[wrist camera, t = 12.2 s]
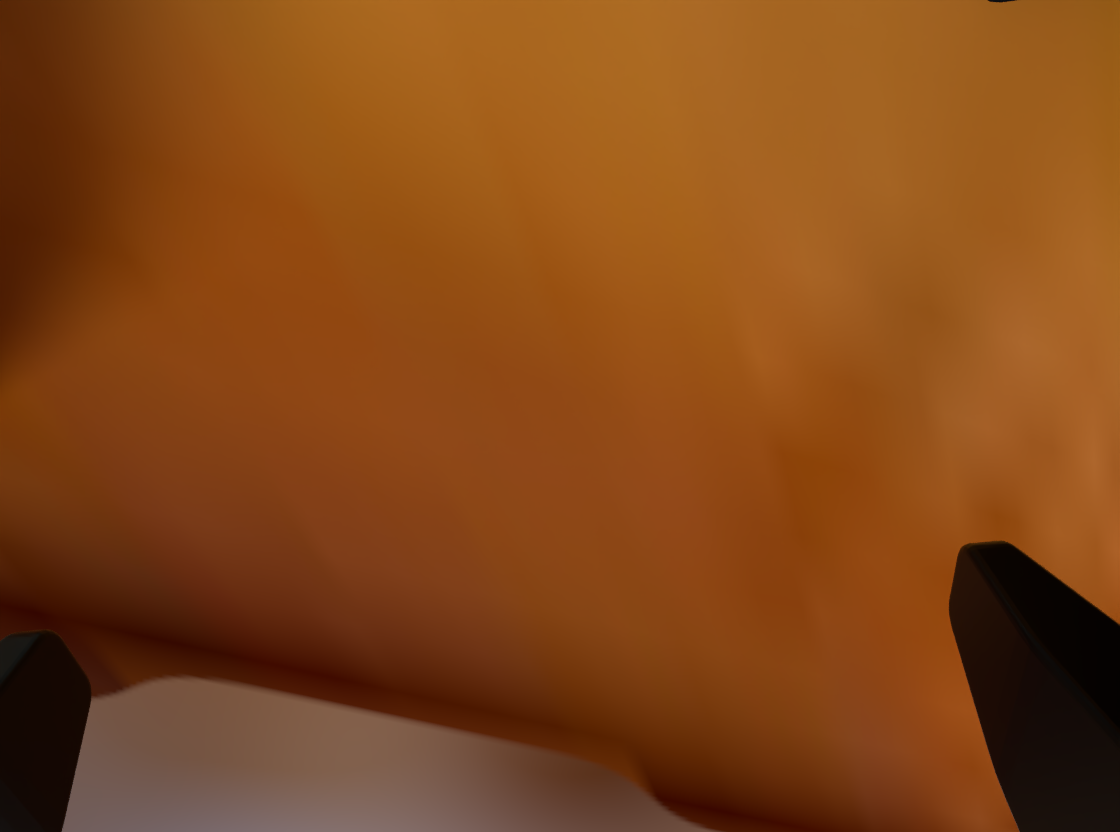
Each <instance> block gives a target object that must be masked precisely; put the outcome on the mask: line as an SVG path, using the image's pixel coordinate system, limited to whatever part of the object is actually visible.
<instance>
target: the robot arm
mask: <svg viewBox="0 0 1120 832" xmlns="http://www.w3.org/2000/svg"><path fill="white" fill-rule="evenodd" d="M988 1H990V2H1007V1H1015V0H988ZM949 615H950V621H951V626H952V629H953V633H954V636H955V640H956V643H957V646H958V650H959V653H960V656H961V660H962V663H963V667H964V670H965V673H966V677H967V680H968V683H969V687H970V690H971V694H972V697H973V700H974V704H975V707H976V710H977V714H978V717H979V721H980V724H981V727H982V731H983V734H984V737H985V741H986V744H987V748H988V751H989V754H990V757H991V760H992V763H993V766H994V769H995V773H996V775H997V778H998V780H999V783H1000V785H1001V788H1002V790H1003V793H1004V796H1005V798H1006V800H1007V803H1008V805H1009V807H1010V810H1011V812H1012V814H1013V817H1014V819H1015V822H1016V824H1017V826H1018V829H1019V831H1020V832H1120V624H1118V623H1117V622H1116V621H1114V620H1113V619H1112V618H1110V617H1109V616H1108V615H1106V614H1105V613H1104V612H1102V611H1101V610H1100V609H1098V608H1097V607H1096V606H1094V605H1093V604H1092V603H1090V602H1089V601H1088V600H1086V599H1085V598H1084V597H1082V596H1081V595H1080V594H1078V593H1077V592H1076V591H1074V590H1073V589H1072V588H1070V587H1069V586H1068V585H1066V584H1065V583H1064V582H1062V581H1061V580H1060V579H1058V578H1057V577H1056V576H1054V575H1053V574H1052V573H1050V572H1049V571H1048V570H1046V569H1045V568H1044V567H1042V566H1041V565H1040V564H1038V563H1037V562H1036V561H1034V560H1033V559H1032V558H1030V557H1029V556H1028V555H1026V554H1025V553H1024V552H1022V551H1021V550H1020V549H1018V548H1017V547H1016V546H1014V545H1012V544H1010V543H1008V542H1005V541H991V542H980V543H969V544H966V545H964V546H963V547H962V548H961V549H960V551H959V553H958V557H957V562H956V567H955V573H954V578H953V583H952V589H951V594H950V600H949ZM90 703H91V685H90V682H89V679H88V677H87V675H86V673H85V672H84V670H83V669H82V667H81V666H80V664H79V663H78V661H77V660H76V658H75V657H74V655H73V654H72V652H71V651H70V649H69V648H68V646H67V645H66V643H65V642H64V641H63V639H62V638H61V636H60V635H59V634H57V633H56V632H54V631H52V630H47V629H45V630H34V631H24V632H16V633H13V634H10V635H8V636H6V637H5V638H4V639H2V640H1V641H0V832H62V828H63V824H64V820H65V816H66V811H67V807H68V802H69V798H70V793H71V789H72V785H73V780H74V775H75V771H76V766H77V762H78V757H79V753H80V749H81V744H82V740H83V735H84V731H85V726H86V722H87V717H88V713H89V708H90Z"/></svg>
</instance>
